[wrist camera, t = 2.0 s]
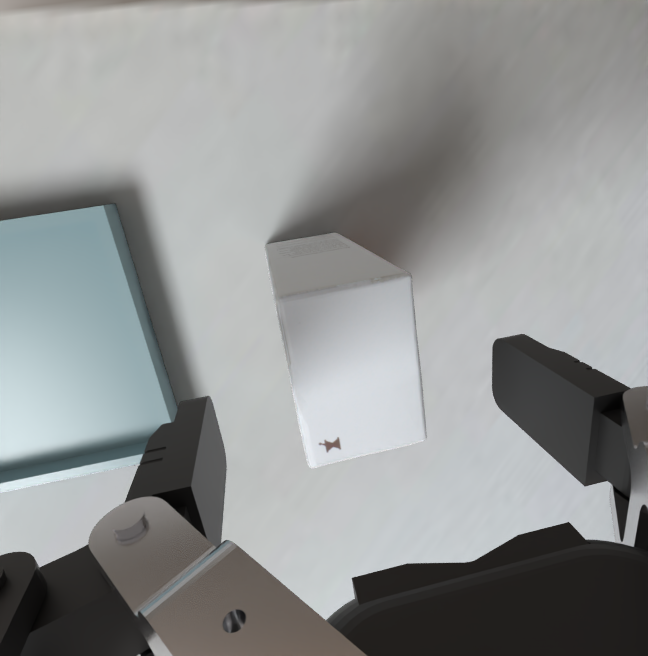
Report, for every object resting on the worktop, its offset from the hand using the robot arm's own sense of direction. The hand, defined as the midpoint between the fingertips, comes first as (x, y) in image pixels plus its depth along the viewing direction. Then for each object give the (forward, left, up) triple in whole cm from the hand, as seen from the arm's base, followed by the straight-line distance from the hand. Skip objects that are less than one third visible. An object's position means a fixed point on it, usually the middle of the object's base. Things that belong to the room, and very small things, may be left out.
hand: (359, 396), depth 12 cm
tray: (+16, +1, -13) cm, 21 cm away
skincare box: (0, 0, -13) cm, 13 cm away
